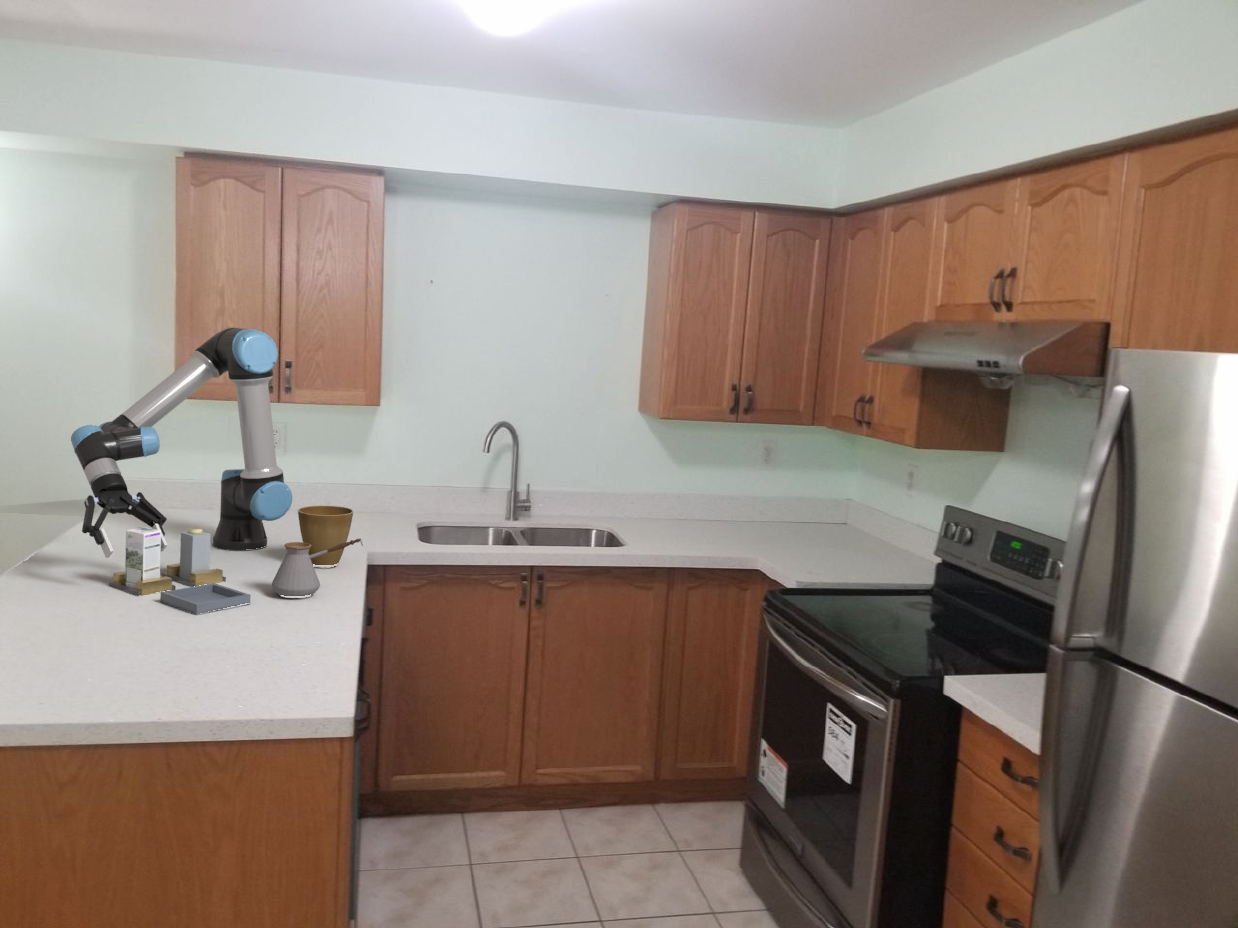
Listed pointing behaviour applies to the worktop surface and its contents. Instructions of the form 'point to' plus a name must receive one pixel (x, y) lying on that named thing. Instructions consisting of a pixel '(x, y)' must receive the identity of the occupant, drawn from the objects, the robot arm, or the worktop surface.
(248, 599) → the tray
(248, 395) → the robot arm
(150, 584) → the tan block holder
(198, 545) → the grey block
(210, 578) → the clips
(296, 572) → the coffee pot
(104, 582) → the worktop surface
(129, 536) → the syrup box
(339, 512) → the plant pot
